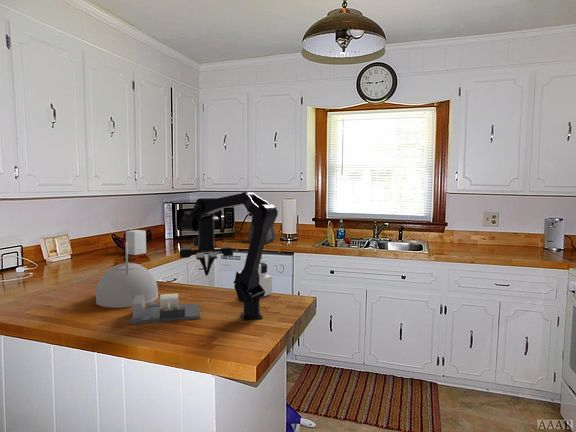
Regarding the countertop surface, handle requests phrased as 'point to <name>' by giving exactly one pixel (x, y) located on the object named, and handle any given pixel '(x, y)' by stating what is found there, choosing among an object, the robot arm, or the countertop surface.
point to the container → (265, 279)
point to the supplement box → (136, 242)
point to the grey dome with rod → (126, 285)
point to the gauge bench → (156, 314)
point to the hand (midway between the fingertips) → (206, 275)
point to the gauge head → (166, 301)
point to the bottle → (270, 233)
